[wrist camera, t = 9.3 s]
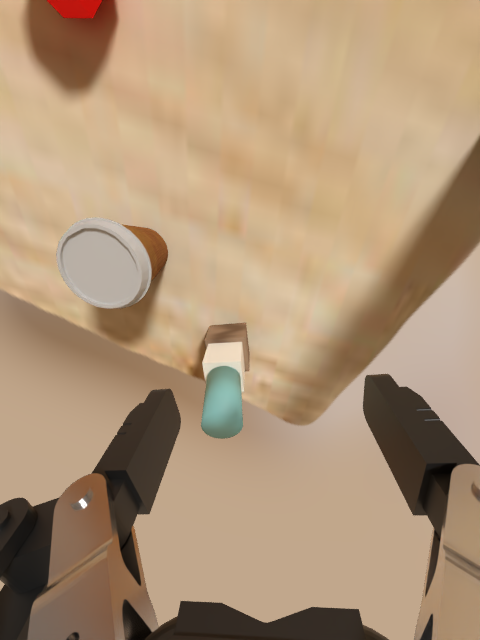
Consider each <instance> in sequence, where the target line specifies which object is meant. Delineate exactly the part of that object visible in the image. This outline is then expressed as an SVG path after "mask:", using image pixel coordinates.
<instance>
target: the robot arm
mask: <svg viewBox="0 0 480 640" xmlns="http://www.w3.org/2000/svg"><path fill="white" fill-rule="evenodd" d="M363 411H364V415H365V418H366V421H367V423H368V425H369V427H370V429H371V431H372V433H373V435H374V437H375V439H376V441H377V443H378V445H379V447H380V449H381V451H382V453H383V455H384V457H385V459H386V461H387V463H388V465H389V467H390V469H391V471H392V473H393V475H394V477H395V480H396V481H397V483H398V486H399V487H400V490H401V491H402V494H403V496H404V497H405V500H406V502H407V503H408V506H409V508H410V510H411V512H412V514H413V515H427V516H428V518H429V520H430V521H431V523H432V525H433V527H434V528H433V532H432V538H431V544H430V550H429V557H428V564H427V571H426V577H425V583H424V590H423V597H422V603H421V607H420V612H419V616H418V620H417V625H416V630H415V636H414V640H480V465H479V464H478V463H477V462H476V460H475V459H474V458H473V457H472V456H471V454H470V453H469V452H468V451H467V450H466V449H465V447H464V446H463V445H462V444H461V443H460V442H459V440H458V439H457V438H456V437H455V436H454V434H453V433H452V432H451V431H450V430H449V429H448V427H447V426H446V425H445V424H444V423H443V422H442V421H440V418H439V417H438V416H437V414H436V413H435V412H434V411H432V410H431V407H429V405H428V404H427V403H426V402H425V400H424V399H423V398H422V397H421V396H420V395H418V394H417V393H415V392H414V391H412V390H411V389H409V388H408V387H399V386H398V385H397V384H396V382H395V381H394V380H393V378H392V377H391V376H390V375H389V374H381V375H380V374H379V375H367V376H366V378H365V386H364V401H363ZM180 423H181V418H180V413H179V410H178V407H177V404H176V402H175V398H174V396H173V393H172V391H171V389H160V390H152V391H151V392H150V394H149V395H148V397H147V398H146V400H145V402H144V403H140V404H139V405H138V406H137V407H135V408H134V409H133V410H132V411H131V412H130V414H129V415H128V416H127V418H126V420H125V421H124V423H123V426H121V428H120V429H119V431H118V432H117V435H116V436H115V437H114V439H113V440H112V442H111V443H110V445H109V447H108V448H107V450H106V451H105V453H104V455H103V456H102V458H101V459H100V461H99V463H98V464H97V466H96V467H95V469H94V471H93V472H92V473H91V474H88V475H86V476H84V477H82V478H80V479H78V480H77V481H75V482H74V483H72V484H71V485H70V486H69V487H68V488H67V489H66V490H65V491H64V492H63V494H62V495H61V496H60V497H59V498H57V499H54V500H51V501H48V502H46V503H42V504H39V505H36V506H34V507H32V506H31V505H30V503H29V502H28V501H27V500H26V499H24V498H15V499H12V500H9V501H7V502H5V503H3V504H1V505H0V580H1V581H2V582H3V583H4V584H5V585H4V586H3V588H2V590H1V591H0V640H388V639H387V638H386V637H384V636H383V635H381V634H379V633H378V632H376V631H375V630H373V629H371V628H369V627H367V626H364V625H362V621H361V617H360V613H359V609H340V608H319V607H311V608H308V609H306V610H303V611H300V612H298V613H294V614H292V615H289V616H286V617H283V618H281V619H278V620H276V621H272V622H269V623H264V622H261V621H259V620H257V619H255V618H252V617H250V616H248V615H246V614H244V613H242V612H240V611H238V610H235V609H233V608H231V607H229V606H227V605H225V604H223V603H212V602H190V601H181V603H180V608H179V613H178V617H175V618H173V619H171V620H170V621H168V622H166V623H164V624H163V625H161V626H160V627H159V626H158V622H157V618H156V615H155V611H154V609H153V605H152V603H151V600H150V598H149V595H148V592H147V588H146V583H145V578H144V573H143V568H142V564H141V558H140V553H139V548H138V543H137V538H136V533H135V529H134V526H133V524H134V521H135V519H136V516H137V514H150V511H151V508H152V505H153V503H154V500H155V497H156V494H157V491H158V488H159V486H160V483H161V480H162V477H163V475H164V472H165V469H166V466H167V463H168V460H169V458H170V455H171V452H172V449H173V446H174V444H175V441H176V438H177V435H178V432H179V429H180Z"/></svg>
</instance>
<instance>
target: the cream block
mask: <svg viewBox="0 0 480 640" xmlns="http://www.w3.org/2000/svg"><path fill="white" fill-rule="evenodd" d="M202 365H203V371H204V377H205V382H207V376H208V373H209V372H210V371H211V370H212V369H214V368H216V367H219V366H229V367H232V368H234V369H236V370H237V371H238V372H239V374H240V377H241V392H244V378H245V367H244V356H243V346H242V342H229V343H211V344H208V346H207V349H206V353H205V356H204V359H203V362H202Z"/></svg>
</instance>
